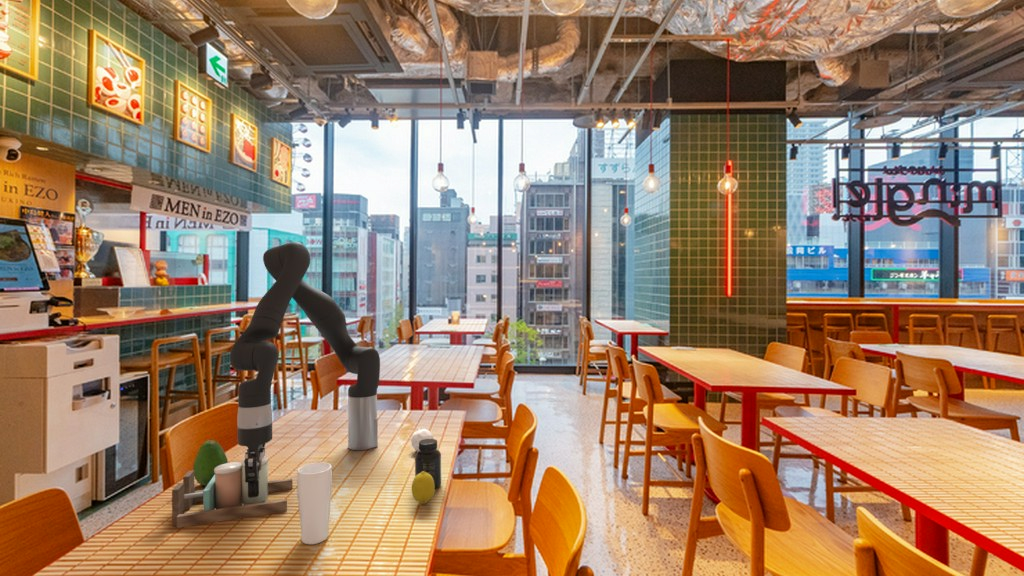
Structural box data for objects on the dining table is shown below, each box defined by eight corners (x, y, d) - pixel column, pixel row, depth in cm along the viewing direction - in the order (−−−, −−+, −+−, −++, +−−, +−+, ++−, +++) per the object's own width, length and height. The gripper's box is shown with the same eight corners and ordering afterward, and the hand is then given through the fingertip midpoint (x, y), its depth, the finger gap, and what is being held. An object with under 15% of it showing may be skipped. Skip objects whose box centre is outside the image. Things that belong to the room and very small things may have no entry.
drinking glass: (304, 531, 102) (303, 462, 102) (336, 529, 102) (336, 461, 102) (292, 548, 95) (292, 474, 95) (326, 546, 96) (326, 473, 96)
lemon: (438, 501, 116) (438, 468, 116) (427, 511, 111) (427, 477, 111) (419, 497, 118) (418, 466, 118) (407, 507, 113) (407, 474, 113)
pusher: (220, 498, 117) (220, 472, 117) (209, 518, 107) (209, 490, 107) (182, 503, 115) (182, 477, 115) (166, 524, 104) (166, 495, 104)
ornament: (410, 455, 148) (403, 431, 152) (422, 456, 154) (415, 433, 158) (429, 445, 147) (421, 421, 151) (440, 447, 153) (433, 424, 157)
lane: (292, 487, 125) (292, 457, 125) (286, 511, 111) (286, 477, 111) (190, 501, 117) (190, 468, 117) (170, 528, 103) (170, 492, 103)
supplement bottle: (446, 483, 126) (445, 439, 126) (431, 493, 120) (431, 447, 120) (425, 479, 129) (425, 436, 129) (409, 489, 123) (409, 443, 123)
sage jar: (269, 493, 119) (269, 454, 119) (266, 502, 113) (266, 462, 113) (243, 496, 117) (243, 457, 117) (239, 506, 111) (239, 465, 111)
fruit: (190, 493, 121) (190, 446, 121) (195, 482, 128) (195, 438, 128) (226, 487, 125) (226, 442, 125) (228, 476, 132) (228, 434, 132)
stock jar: (245, 499, 117) (244, 460, 117) (240, 510, 112) (239, 469, 112) (218, 504, 115) (217, 464, 115) (212, 514, 110) (211, 472, 110)
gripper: (267, 429, 110) (268, 501, 110) (275, 414, 123) (276, 478, 123) (231, 433, 107) (231, 506, 107) (243, 417, 121) (244, 482, 121)
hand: (255, 491), depth 115 cm, fingers closed on sage jar, 5 cm apart
